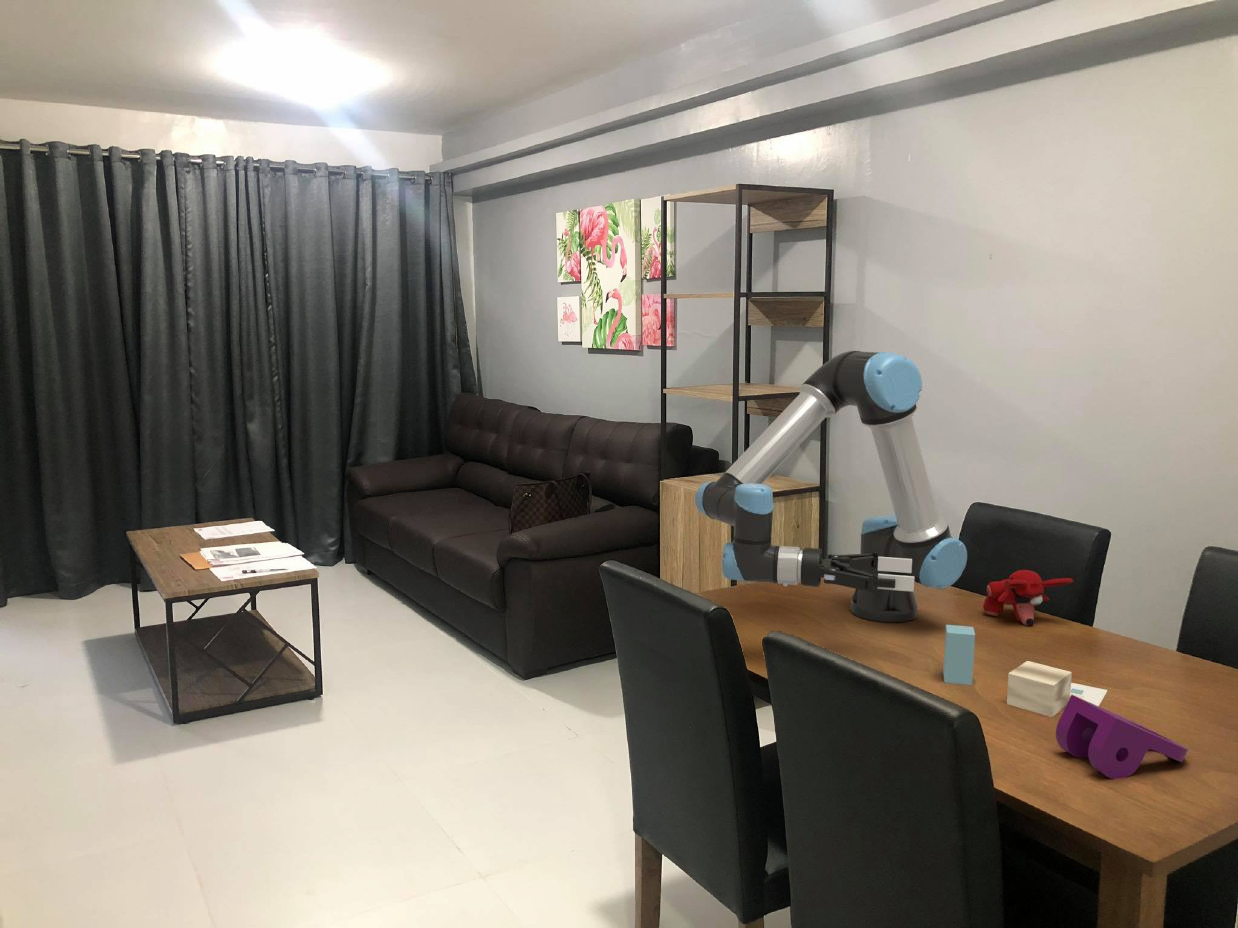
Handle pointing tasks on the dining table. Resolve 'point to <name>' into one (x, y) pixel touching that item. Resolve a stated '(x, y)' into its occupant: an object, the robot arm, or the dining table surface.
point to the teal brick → (959, 654)
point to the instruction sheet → (1088, 693)
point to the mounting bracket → (1109, 739)
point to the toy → (1019, 594)
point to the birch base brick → (1039, 688)
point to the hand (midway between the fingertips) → (913, 574)
